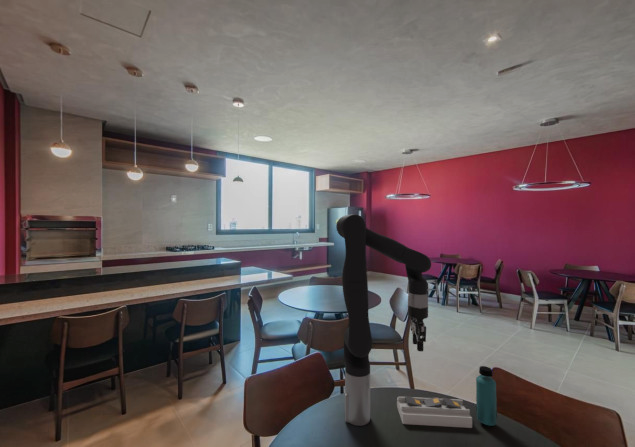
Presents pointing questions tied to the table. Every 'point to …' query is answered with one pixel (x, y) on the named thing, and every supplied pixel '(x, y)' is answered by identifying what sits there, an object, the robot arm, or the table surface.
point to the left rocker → (413, 401)
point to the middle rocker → (432, 402)
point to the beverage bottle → (486, 397)
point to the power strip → (434, 414)
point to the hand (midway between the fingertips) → (417, 347)
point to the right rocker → (451, 403)
